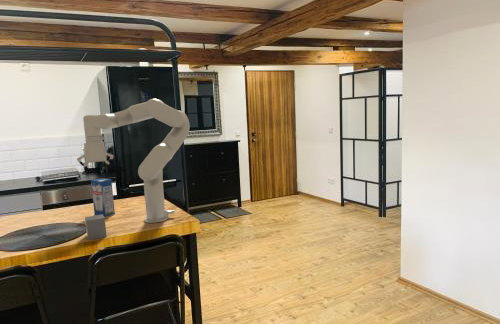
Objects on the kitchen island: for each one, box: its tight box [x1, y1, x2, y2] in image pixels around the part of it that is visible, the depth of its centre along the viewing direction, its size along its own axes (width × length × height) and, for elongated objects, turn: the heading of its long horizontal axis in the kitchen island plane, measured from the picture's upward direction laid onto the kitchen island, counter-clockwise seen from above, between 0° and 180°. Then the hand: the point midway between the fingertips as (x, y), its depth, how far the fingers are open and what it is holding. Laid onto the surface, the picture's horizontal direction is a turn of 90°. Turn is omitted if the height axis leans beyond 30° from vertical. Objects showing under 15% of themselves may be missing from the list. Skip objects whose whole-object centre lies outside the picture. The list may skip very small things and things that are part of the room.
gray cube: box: [84, 214, 107, 241], centre depth 167 cm, size 8×8×9 cm
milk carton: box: [90, 178, 116, 218], centre depth 205 cm, size 10×6×20 cm, turn 57°
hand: (97, 173), depth 185 cm, fingers open, 9 cm apart
